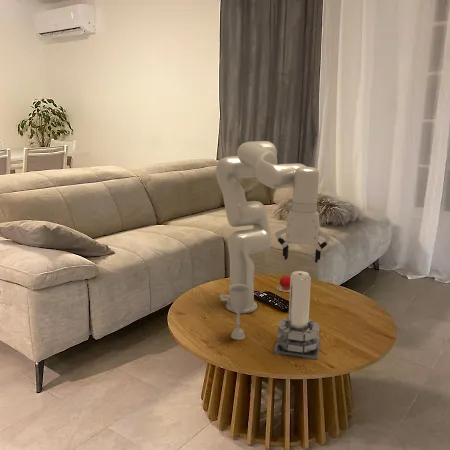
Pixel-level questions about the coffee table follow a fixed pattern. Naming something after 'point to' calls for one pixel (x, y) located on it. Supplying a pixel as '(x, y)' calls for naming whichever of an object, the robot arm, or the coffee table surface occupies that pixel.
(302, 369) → the coffee table surface
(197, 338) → the coffee table surface
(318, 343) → the collar stand
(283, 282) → the apple
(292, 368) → the coffee table surface
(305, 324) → the silver metal cylinder
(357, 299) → the coffee table surface
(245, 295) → the chalice
